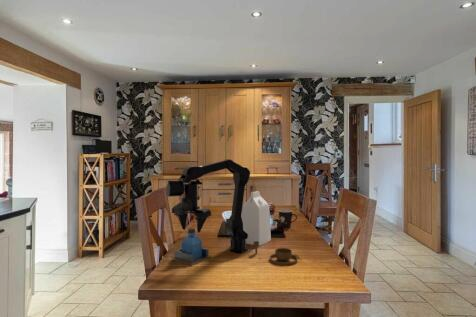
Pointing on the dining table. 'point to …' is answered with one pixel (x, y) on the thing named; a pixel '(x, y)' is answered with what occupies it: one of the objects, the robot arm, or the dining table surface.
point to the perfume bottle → (192, 244)
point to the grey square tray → (190, 257)
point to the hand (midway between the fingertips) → (191, 230)
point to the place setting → (280, 255)
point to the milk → (256, 219)
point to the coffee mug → (286, 218)
